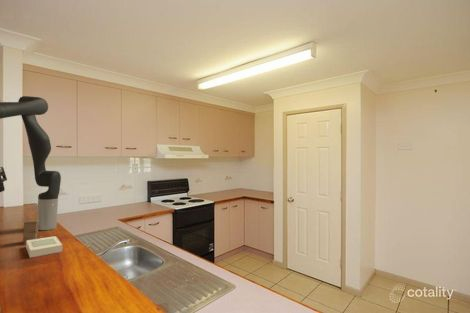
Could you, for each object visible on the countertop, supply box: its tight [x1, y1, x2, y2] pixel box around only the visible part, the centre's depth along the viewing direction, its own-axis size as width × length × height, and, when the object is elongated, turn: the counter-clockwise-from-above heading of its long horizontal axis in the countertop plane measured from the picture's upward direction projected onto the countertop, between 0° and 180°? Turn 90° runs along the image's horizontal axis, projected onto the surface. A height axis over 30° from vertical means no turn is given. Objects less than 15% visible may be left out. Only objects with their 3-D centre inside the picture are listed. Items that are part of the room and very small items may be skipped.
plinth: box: [25, 235, 63, 259], centre depth 111 cm, size 16×11×3 cm
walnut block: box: [22, 219, 39, 245], centre depth 120 cm, size 5×5×10 cm
